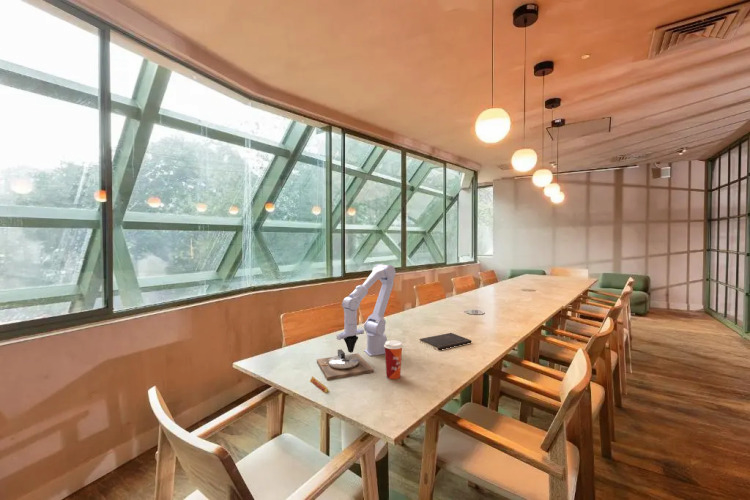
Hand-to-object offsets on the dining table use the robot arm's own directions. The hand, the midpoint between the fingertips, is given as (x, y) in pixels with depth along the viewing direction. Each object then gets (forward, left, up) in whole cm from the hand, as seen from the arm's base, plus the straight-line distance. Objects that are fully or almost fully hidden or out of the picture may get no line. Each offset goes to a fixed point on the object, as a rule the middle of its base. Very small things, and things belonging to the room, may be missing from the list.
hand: (350, 351), depth 148 cm
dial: (+5, +6, -2) cm, 8 cm away
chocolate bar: (+19, +20, -5) cm, 28 cm away
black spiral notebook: (-55, -4, -5) cm, 55 cm away
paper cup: (-11, +23, -4) cm, 26 cm away
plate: (+5, +6, -4) cm, 9 cm away
